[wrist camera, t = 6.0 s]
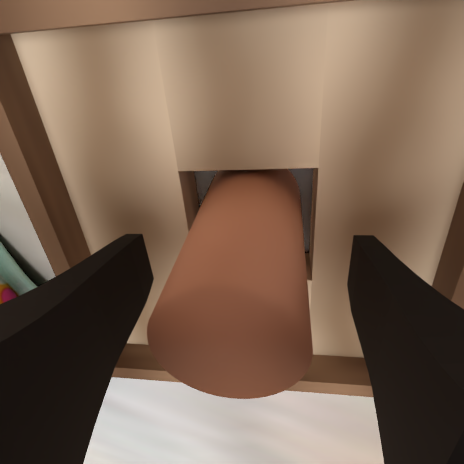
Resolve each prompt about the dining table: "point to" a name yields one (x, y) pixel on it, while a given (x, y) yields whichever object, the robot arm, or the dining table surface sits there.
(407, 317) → the robot arm
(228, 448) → the dining table surface
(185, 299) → the peg
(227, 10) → the walnut box
